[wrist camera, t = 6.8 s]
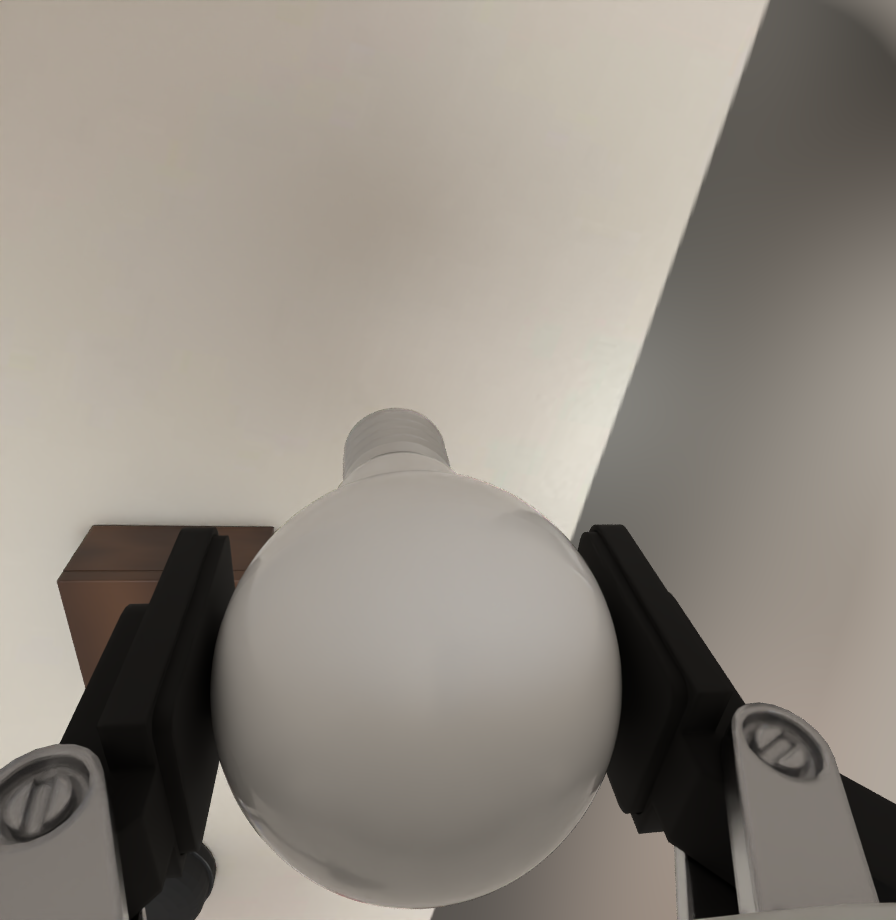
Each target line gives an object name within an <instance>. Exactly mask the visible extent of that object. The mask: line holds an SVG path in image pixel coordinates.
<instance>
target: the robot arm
mask: <svg viewBox="0 0 896 920" xmlns="http://www.w3.org/2000/svg"><path fill="white" fill-rule="evenodd" d="M578 552H579V553H580V555H581V556H582V557H583V559H584V560H585V562H586V563H587V565H588V567H589V568H590V570H591V571H592V573H593V575H594V577H595V579H596V580H597V582H598V584H599V586H600V589H601V591H602V593H603V595H604V597H605V600H606V603H607V605H608V608H609V611H610V614H611V617H612V620H613V623H614V627H615V631H616V635H617V640H618V645H619V651H620V658H621V666H622V683H623V685H622V709H621V718H620V724H619V730H618V735H617V740H616V743H615V747H614V751H613V754H612V757H611V761H610V763H609V766H608V769H607V772H606V773H607V775H608V778H609V781H610V783H611V786H612V789H613V791H614V793H615V796H616V799H617V802H618V804H619V806H620V808H621V810H622V811H623V812H624V813H625V814H628V813H631V815H632V818H633V820H634V823H635V826H636V828H637V831H638V833H639V834H642V833H652V832H662V831H664V833H665V835H666V838H667V840H668V842H670V843H671V844H672V845H674V849H675V850H674V851H675V876H676V898H677V920H896V804H895V803H893V802H891V801H889V800H887V799H885V798H884V797H881V796H880V795H878V794H876V793H875V792H872V791H871V790H869V789H867V788H865V787H863V786H862V785H860V784H858V783H856V782H855V781H853V780H851V779H849V778H847V777H845V776H843V775H842V774H840V773H839V771H838V767H837V764H836V761H835V758H834V756H833V754H832V752H831V749H830V747H829V745H828V744H827V743H826V741H825V740H824V739H823V738H822V736H821V735H820V734H819V733H818V731H817V730H815V729H814V728H813V727H812V726H811V725H810V724H808V723H807V722H806V721H805V720H804V719H802V718H800V717H799V716H797V715H795V714H794V713H792V712H790V711H788V710H785V709H783V708H781V707H778V706H775V705H772V704H765V703H750V704H745V703H744V701H743V700H742V698H741V697H740V695H739V694H738V692H737V691H736V690H735V688H734V686H733V685H732V683H731V682H730V680H729V679H728V678H727V676H726V674H725V673H724V671H723V670H722V668H721V667H720V665H719V664H718V662H717V661H716V659H715V658H714V656H713V655H712V653H711V652H710V650H709V649H708V647H707V646H706V644H705V643H704V641H703V640H702V638H701V637H700V635H699V634H698V632H697V631H696V629H695V628H694V627H693V625H692V623H691V622H690V620H689V619H688V617H687V616H686V615H685V613H684V611H683V610H682V608H681V607H680V605H679V604H678V602H677V601H676V599H675V598H674V597H673V596H672V595H671V594H670V593H669V592H668V591H667V589H666V588H665V587H664V585H663V583H662V582H661V580H660V579H659V577H658V576H657V574H656V573H655V571H654V570H653V568H652V567H651V565H650V564H649V562H648V561H647V559H646V558H645V556H644V555H643V553H642V552H641V550H640V549H639V547H638V545H637V544H636V543H635V541H634V539H633V538H632V536H631V535H630V533H629V532H628V530H627V529H626V528H625V527H624V526H623V525H593V526H592V527H591V529H590V531H589V532H584V533H583V534H582V536H581V539H580V543H579V547H578ZM234 590H235V583H234V574H233V565H232V556H231V547H230V540H229V536H228V535H219V534H218V530H217V528H215V527H186V528H182V529H181V530H180V532H179V534H178V537H177V539H176V541H175V544H174V546H173V548H172V551H171V553H170V555H169V558H168V560H167V562H166V565H165V567H164V569H163V572H162V574H161V577H160V579H159V581H158V584H157V586H156V588H155V591H154V593H153V595H152V598H151V600H150V602H149V603H144V604H129V605H128V606H126V607H125V609H124V610H123V612H122V613H121V615H120V617H119V619H118V622H117V624H116V626H115V628H114V630H113V632H112V634H111V636H110V638H109V641H108V643H107V645H106V647H105V649H104V651H103V653H102V655H101V657H100V660H99V662H98V664H97V666H96V668H95V670H94V672H93V674H92V676H91V678H90V681H89V683H88V685H87V687H86V689H85V691H84V693H83V695H82V697H81V700H80V702H79V704H78V706H77V708H76V710H75V712H74V714H73V716H72V719H71V721H70V723H69V725H68V727H67V729H66V731H65V733H64V735H63V738H62V740H61V742H60V744H55V745H51V746H47V747H43V748H39V749H35V750H33V751H31V752H29V753H27V754H25V755H23V756H21V757H18V758H16V759H15V760H13V761H12V762H10V763H9V764H7V765H6V766H5V767H3V768H2V769H0V920H147V918H146V912H145V906H146V905H147V904H149V903H150V902H151V901H152V900H153V899H154V898H155V897H156V896H157V895H159V894H160V893H161V892H162V890H163V886H164V882H165V879H167V878H177V877H182V874H183V870H184V865H185V861H186V856H187V853H189V852H198V851H199V850H200V847H201V844H202V840H203V836H204V831H205V826H206V822H207V817H208V812H209V807H210V803H211V798H212V793H213V789H214V784H215V779H216V774H217V770H218V765H219V757H218V753H217V749H216V745H215V740H214V735H213V729H212V722H211V712H210V677H211V666H212V659H213V653H214V647H215V643H216V639H217V635H218V631H219V628H220V625H221V621H222V618H223V616H224V613H225V610H226V608H227V605H228V603H229V601H230V598H231V596H232V594H233V592H234Z"/></svg>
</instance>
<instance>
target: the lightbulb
mask: <svg viewBox="0 0 896 920" xmlns="http://www.w3.org/2000/svg"><path fill="white" fill-rule="evenodd" d="M343 462H344V463H343V481H342V483H341V484H340V485H339V487H338V488H337V489H335V490H333V491H331V492H329V493H327V494H325V495H323V496H322V497H320V498H318V499H317V500H315V501H313V502H312V503H310V504H309V505H307V506H306V507H304V508H303V509H302V510H300V511H299V512H298V513H296V514H295V515H294V516H293V517H291V518H290V519H289V520H288V521H287V522H286V523H285V524H284V525H282V526H281V527H280V528H279V529H278V530H277V531H276V532H275V533H274V534H273V535H272V536H271V537H270V539H269V540H268V541H267V542H266V543H265V544H264V545H263V547H262V548H261V549H260V550H259V552H258V553H257V554H256V556H255V557H254V558H253V560H252V561H251V563H250V564H249V566H248V567H247V569H246V570H245V572H244V573H243V575H242V577H241V579H240V580H239V582H238V584H237V586H236V588H235V590H234V592H233V594H232V596H231V598H230V601H229V603H228V605H227V608H226V610H225V613H224V616H223V618H222V621H221V625H220V628H219V631H218V635H217V639H216V643H215V647H214V653H213V659H212V666H211V677H210V712H211V722H212V729H213V735H214V740H215V745H216V749H217V753H218V757H219V760H220V763H221V767H222V769H223V772H224V775H225V777H226V780H227V783H228V785H229V787H230V789H231V791H232V793H233V796H234V798H235V799H236V801H237V803H238V805H239V807H240V808H241V810H242V812H243V813H244V815H245V817H246V818H247V820H248V821H249V823H250V824H251V825H252V827H253V828H254V829H255V831H256V832H257V833H258V834H259V836H260V837H261V838H262V839H263V840H264V842H265V843H266V844H267V845H268V846H269V847H270V848H271V849H272V850H273V851H274V852H275V853H276V854H277V855H278V856H279V857H280V858H281V859H282V860H284V861H285V862H286V863H287V864H288V865H289V866H291V867H292V868H293V869H295V870H296V871H297V872H299V873H300V874H301V875H303V876H304V877H306V878H308V879H309V880H311V881H312V882H314V883H316V884H317V885H319V886H321V887H323V888H325V889H327V890H329V891H331V892H333V893H336V894H338V895H341V896H343V897H346V898H349V899H352V900H355V901H358V902H362V903H366V904H370V905H375V906H380V907H388V908H397V909H427V908H437V907H443V906H450V905H454V904H459V903H463V902H467V901H470V900H473V899H476V898H479V897H482V896H485V895H487V894H490V893H492V892H494V891H496V890H498V889H500V888H502V887H504V886H506V885H508V884H510V883H512V882H513V881H515V880H517V879H518V878H520V877H522V876H523V875H525V874H526V873H527V872H529V871H530V870H532V869H533V868H534V867H536V866H537V865H538V864H540V863H541V862H542V861H543V860H544V859H546V858H547V857H548V856H549V855H550V854H551V853H552V852H553V851H554V850H555V849H556V848H557V847H558V846H559V845H560V844H561V843H562V842H563V841H564V840H565V839H566V838H567V836H568V835H569V834H570V833H571V832H572V830H573V829H574V828H575V827H576V825H577V824H578V823H579V821H580V820H581V819H582V817H583V816H584V814H585V813H586V811H587V809H588V808H589V806H590V804H591V803H592V801H593V799H594V797H595V795H596V794H597V791H598V790H599V788H600V786H601V783H602V781H603V779H604V777H605V774H606V772H607V769H608V766H609V763H610V761H611V757H612V754H613V751H614V747H615V743H616V740H617V735H618V730H619V724H620V718H621V709H622V685H623V683H622V666H621V658H620V651H619V645H618V640H617V635H616V631H615V627H614V623H613V620H612V617H611V614H610V611H609V608H608V605H607V603H606V600H605V597H604V595H603V593H602V591H601V589H600V586H599V584H598V582H597V580H596V579H595V577H594V575H593V573H592V571H591V570H590V568H589V567H588V565H587V563H586V562H585V560H584V559H583V557H582V556H581V555H580V553H579V552H578V551H577V549H576V548H575V547H574V545H573V544H572V543H571V542H570V541H569V539H568V538H567V537H566V536H565V535H564V534H563V533H562V532H561V531H560V530H559V529H558V528H557V527H556V526H555V525H554V524H553V523H552V522H551V521H550V520H549V519H547V518H546V517H545V516H544V515H543V514H541V513H540V512H539V511H538V510H536V509H535V508H534V507H532V506H531V505H529V504H528V503H526V502H525V501H523V500H522V499H520V498H518V497H516V496H515V495H513V494H511V493H509V492H507V491H505V490H503V489H501V488H499V487H497V486H494V485H492V484H490V483H487V482H484V481H481V480H478V479H475V478H472V477H468V476H464V475H460V474H457V473H456V472H455V471H454V470H452V469H451V467H450V464H449V460H448V457H447V453H446V449H445V445H444V441H443V438H442V436H441V434H440V432H439V430H438V429H437V427H436V426H435V425H434V424H433V423H432V422H431V421H430V420H429V419H428V418H426V417H425V416H423V415H422V414H420V413H417V412H415V411H412V410H408V409H402V408H389V409H383V410H379V411H376V412H374V413H371V414H369V415H368V416H366V417H364V418H363V419H362V420H360V421H359V422H358V423H357V424H356V425H355V426H354V427H353V429H352V430H351V432H350V433H349V435H348V437H347V440H346V443H345V447H344V457H343Z"/></svg>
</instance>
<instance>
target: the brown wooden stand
mask: <svg viewBox="0 0 896 920" xmlns="http://www.w3.org/2000/svg"><path fill="white" fill-rule="evenodd" d="M186 527H197V526H92V527H91V529H90V530H89V532H88V534H87V535H86V537H85V538H84V540H83V541H82V543H81V544H80V546H79V547H78V549H77V550H76V552H75V553H74V555H73V556H72V558H71V559H70V561H69V563H68V564H67V566H66V567H65V569H64V570H63V572H62V574H61V575H60V577H59V578H58V580H57V584H58V588H59V591H60V595H61V599H62V602H63V606H64V610H65V614H66V617H67V621H68V625H69V629H70V632H71V636H72V640H73V643H74V647H75V651H76V655H77V658H78V662H79V666H80V670H81V673H82V677H83V681H84V684H85V688H86V687H87V685H88V683H89V681H90V678H91V676H92V674H93V672H94V670H95V668H96V666H97V664H98V662H99V660H100V657H101V655H102V653H103V651H104V649H105V647H106V645H107V643H108V641H109V638H110V636H111V634H112V632H113V630H114V628H115V626H116V624H117V622H118V619H119V617H120V615H121V613H122V612H123V610H124V609H125V607H126V606H128V605H129V604H144V603H149V602H150V600H151V598H152V595H153V593H154V591H155V588H156V586H157V584H158V581H159V579H160V577H161V574H162V572H163V569H164V567H165V565H166V562H167V560H168V558H169V555H170V553H171V551H172V548H173V546H174V544H175V541H176V539H177V537H178V534H179V532H180V530H181V529H182V528H186ZM215 528H217V530H218V534H219V535H228V536H229V540H230V547H231V556H232V565H233V574H234V583H235V588H236V586H237V584H238V582H239V580H240V579H241V577H242V575H243V573H244V572H245V570H246V569H247V567H248V566H249V564H250V563H251V561H252V560H253V558H254V557H255V556H256V554H257V553H258V552H259V550H260V549H261V548H262V547H263V545H264V544H265V543H266V542H267V541H268V540H269V539H270V537H271V536H272V535H273V534H274V527H215Z"/></svg>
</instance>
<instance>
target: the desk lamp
mask: <svg viewBox="0 0 896 920" xmlns="http://www.w3.org/2000/svg"><path fill="white" fill-rule="evenodd" d="M215 873H216V865H215V860H214V858H213V856H212V854H211V853H210V851H209V850H208V849H207V848H206V847H205V846H204V845H203V844H201V847H200V850H199V851H198V852H189V853H187V856H186V861H185V865H184V870H183V874H182V877H177V878H167V879H165V882H164V886H163V890H162V892H161V893H160V894H159V895H157V896H156V897H155V898H154V899H153V900H152V901H151V902H150V903H149V904H147V905H146V906H145V912H146V918H147V920H195V919H196V917H197V916H198V914H199V913H200V911H201V909H202V907H203V904H204V902H205V901H206V899H207V898H208V897H209V895H210V893H211V891H212V888H213V884H214V879H215Z"/></svg>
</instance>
